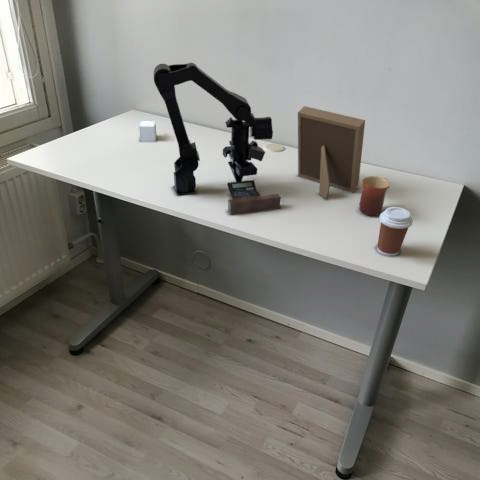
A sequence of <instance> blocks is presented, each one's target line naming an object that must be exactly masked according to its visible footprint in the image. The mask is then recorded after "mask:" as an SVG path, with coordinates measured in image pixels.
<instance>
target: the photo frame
mask: <svg viewBox="0 0 480 480" xmlns="http://www.w3.org/2000/svg"><path fill="white" fill-rule="evenodd" d="M365 126H366V119H362V118H357V117H354V116H349V115H344V114H341V113H337V112H333V111H332V112H331V111H327V110H322V109H319V108H315V107H309V106H306V105H303V107H302V108H301V109H300V110H299V111H298V112H297V177H300V178H302V179H305V180H310V181H312V182H316V183H319V188H318V189H319V192H318V194H319V195H320V196H321V197H323V198H324V199H328V196H329V192H330V189H331V187H333V188H337V189H339V190H342V191H346V192H349V193H354V192H355V190H356V189H357V188H358V187H359V185H360V184H359V182H360V173H361V165H362V163H361V162H362V154H363V145H364V136H365Z"/></svg>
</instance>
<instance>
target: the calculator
mask: <svg viewBox="0 0 480 480" xmlns="http://www.w3.org/2000/svg"><path fill="white" fill-rule="evenodd" d="M227 187H228V192H229V195H230V197H231V200H232V199H240V198H248V197H256V196H261V194H260V193H259V191H258V189H257V186H256V182H255V179H250V180H242V181H238V182H236V181H229V182H227Z"/></svg>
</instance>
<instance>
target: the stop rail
mask: <svg viewBox="0 0 480 480" xmlns="http://www.w3.org/2000/svg"><path fill="white" fill-rule="evenodd" d="M281 199H282V196H280V194H279V193H273V194H264V195H260V196H256V197H248V198H240V199H232V198H231V199H227V201H228V203H227V212H228V213H229V215H230V216H232V215H238V214H239V215H240V214H247V213H254V212H262V211H269V210H277V209H280V208H281Z"/></svg>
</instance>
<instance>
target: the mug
mask: <svg viewBox="0 0 480 480" xmlns="http://www.w3.org/2000/svg"><path fill="white" fill-rule="evenodd" d="M361 185H362V191H361V195H360V198H359V199H360V200H359V204H358V205H359V206H358V211H360V213H361V214H362V215H365V216H369V217H375V216H378V215H380V214H381V213H382V210H383V207H384V203H385V202H384V201H385V197H386V194H387V191H388V190H389V188H390V187H391V182H390V181H389V179H388V178H385V177H380V176H375V175H374V176H365V177H363V178H362V180H361Z"/></svg>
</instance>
